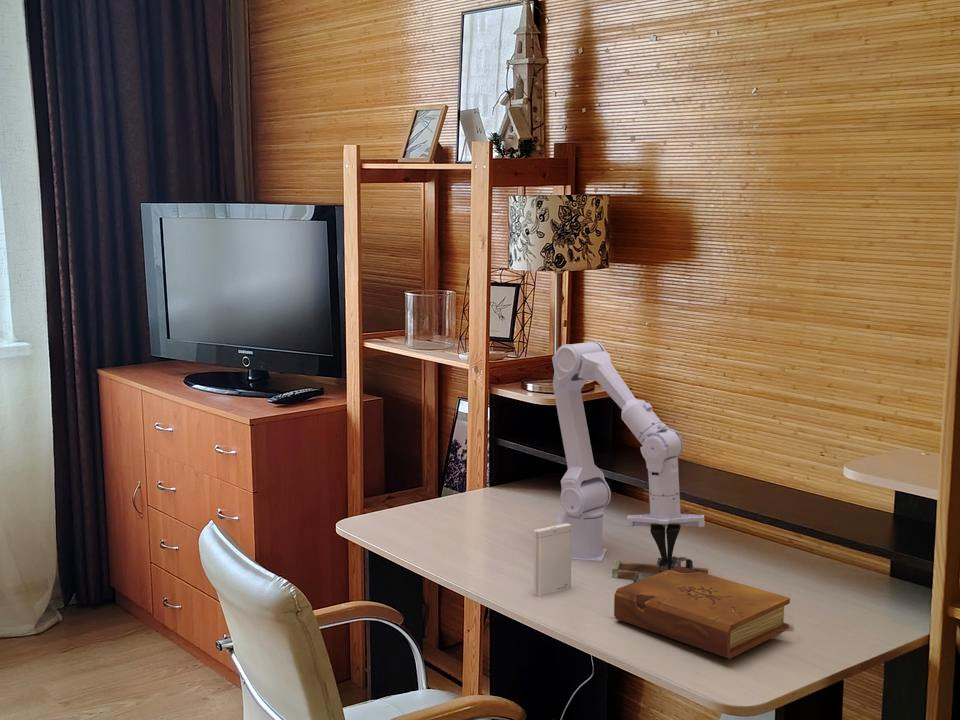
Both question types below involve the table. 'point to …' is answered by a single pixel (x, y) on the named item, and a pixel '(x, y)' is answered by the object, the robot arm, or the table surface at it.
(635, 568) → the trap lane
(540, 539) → the hard drive
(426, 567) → the table surface
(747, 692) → the table surface
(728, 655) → the diary
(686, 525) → the robot arm
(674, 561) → the wristwatch
